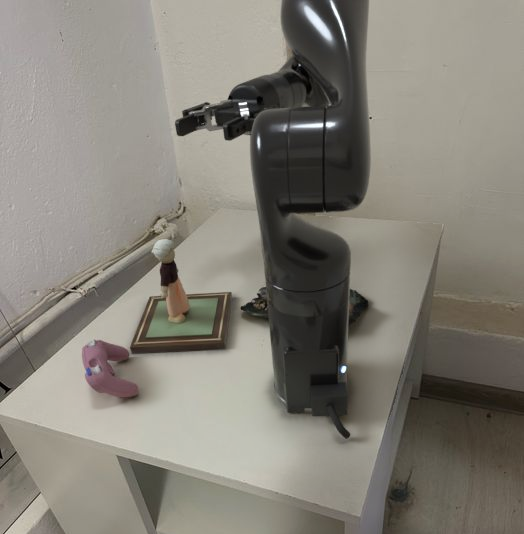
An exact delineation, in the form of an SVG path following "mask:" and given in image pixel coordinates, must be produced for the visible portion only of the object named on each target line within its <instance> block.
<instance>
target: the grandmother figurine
mask: <svg viewBox="0 0 524 534" xmlns="http://www.w3.org/2000/svg"><path fill="white" fill-rule="evenodd" d="M174 247H175V243H174V242H173V240H171V239H167V238H164V239H162V238H161V239H159V240H157V241H156V242H155V243H154V245H153V247H152V250H151V254H153V255H154V257H155V258H156V259H158V261H159V263H160V264H161V265H160V267H159V275H160V292H161V293H160V296H161V297H162V298H166V301H167V307H168V313H169V315H170V316H169V318H168V320H169V321H170V322H174V323H182V322H184V321H185V319H186V318H185V316H184V315H183V314H185V313H187V311H188V310H189V309H190V304H189V301H188V298H187V296H186V291H185V289H184V287H183V284H182V282H181V279H180V277H179V274H178V273H179V268H178V266H177V263H176V261H175V257H176V252H175V250H174Z"/></svg>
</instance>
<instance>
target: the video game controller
mask: <svg viewBox="0 0 524 534" xmlns="http://www.w3.org/2000/svg"><path fill="white" fill-rule="evenodd" d="M129 357H130V351H129V350H128V349H127V348H126V347H124V346H122V345H118V344H113V343H109V342H107V341H105V340H102V339H95V338H94V339H93V340H92V341H89V342H87V344H85V345H84V346H83V347H82V348H81V359H82V364H83V367H84V370H85V373H84V379H85V380H86V382H87V384H88V385H89V387H90V388H92V390H94V391H95V392H96V393H98V394H106V395H109V396H112V397H118V398H132V397H134V396H137V395H138V393H139V391H140V390H139V387H138V385H137V384H136V383H135V382H133V381H130V380H126V379H123V378H121V377H117V376H114V375H113V374H115V369H114V367H113V366H112V365H111V364H110V362H123V361H126V360H128V359H129Z"/></svg>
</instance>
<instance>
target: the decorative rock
mask: <svg viewBox="0 0 524 534" xmlns="http://www.w3.org/2000/svg"><path fill="white" fill-rule="evenodd" d="M256 296H257V297H254V298H252V299H251V301H249V302H247V303H246V304H244V305H241V306H240V308H239V309H240V311H243V312H245V313H246V314H248V315H251V316H256V317H260V318H267V319H269V317H268V306H267V293H266V286H263V287H261V288H259V289H258V292H256ZM368 307H369V300H368V299H367V298H366V297H365V296H363V295H362V294H360V293H359V292H358V291H357V290H356V289H351V288H350V295H349V321H348V325H352V324H353V323H355V322H356V321H357V320H358V318H359V317H360V315H361V314H362V312H363V311H364V309H365V308H368Z"/></svg>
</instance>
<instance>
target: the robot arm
mask: <svg viewBox="0 0 524 534" xmlns="http://www.w3.org/2000/svg"><path fill="white" fill-rule="evenodd" d="M369 11H370V0H281V6H280V26H281V32H282V35H283V38H284V40H285V42H286V44H287V47H288V48H289V50H290V54H291V56H289V57H288V58H287V60H286V61H285V62H284V64H283V65H282V66H281V67H280V69H278V70H277V71H274V72H272V73H270V74H263V75H260V76H257V77H254V78H252V79H248V80H246V81H243V82H240V83H238V84H237V85H235V86H234V87H233V88H232V89H231V91H230V92H229V95H228V97H227V99H224V100H220V102H217V103H212V104H211V102H208V101H205V102H203V103H200V104H197V105H195V106H192V107H189V108H185V109H182V111H181V114H182V117H180V118H177V119H175V122H174V126H175V127H174V128H175V132H176V136H178V137H185V136H187V135H190V134H191V133H193V132H198V131H200V130H205V129H206V130H207V131H208V132H214V131H219V130H222V132H223V138H224V140H225V141H229V142H230V141H234V140H235V139H237V138H240V137H241V136H250V137H249V162H250V170H251V171H250V172H251V179H252V184H253V192H254V198H255V205H256V212H257V218H258V226H259V234H260V242H261V252H262V260H263V269H264V280H265V282H264V283H265V287H266V293H267V306H268V317H269V318H268V327H269V338H270V348H271V360H272V369H273V371H272V372H273V380H274V381H273V388H274V389H273V390H274V394H275V396H276V398H277V400H278V401H279V402H280V403H281V404H282V405H284V406H285V407H286V412H287V414H297V413H299V414H302V413H303V414H305V413H311V416H312V417H330V419H331V421H332V424H333V425H334V427H335V429H336V430H337V432H338V434H339V435H341V437H343V438H344V439H349V438H350V437H351V435H352V434H351V432H350V431H349V430H347V429H346V427H345V426H344V424H343V422H342V421H341V420H340V417H339V416H347V415H348V409H349V407H348V406H349V394H348V393H349V392H348V347H349V323H348V321H349V295H350V289H351V270H352V269H351V266H352V256H351V255H352V252H351V248H350V245H349V243H348V241H346V239H344V237H342V236H341V235H340V234H338V233H336V232H334V231H332V230H329V229H326V228H323V227H321V226H318V225H315V224H313V223H311V222H309V221H307V220H306V219H304V218H302V217H301V216H300V215H298V214H324V213H326V214H331V213H332V214H333V213H342V212H343V213H344V212H345V213H346V212H350V211H354V210H355V209H358V208H359V207H360V206H361V205H362V204H363V202H364V200H365V197H366V195H367V192H368V189H369V184H370V177H371V176H370V175H371V165H372V163H371V162H372V150H371V149H372V148H371V129H370V127H371V125H370V114H369V112H370V111H369V95H368V79H367V78H368V77H367V50H368V49H367V48H368V47H367V46H368V45H367V44H368V29H369V13H370V12H369ZM213 117H214V119H215V124H212V120H213Z"/></svg>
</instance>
